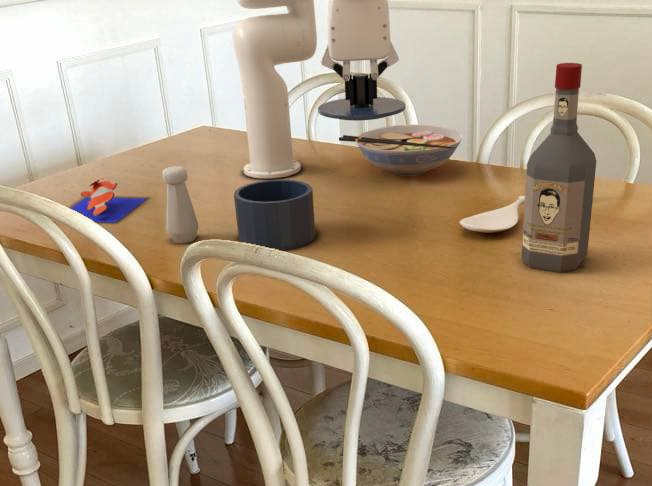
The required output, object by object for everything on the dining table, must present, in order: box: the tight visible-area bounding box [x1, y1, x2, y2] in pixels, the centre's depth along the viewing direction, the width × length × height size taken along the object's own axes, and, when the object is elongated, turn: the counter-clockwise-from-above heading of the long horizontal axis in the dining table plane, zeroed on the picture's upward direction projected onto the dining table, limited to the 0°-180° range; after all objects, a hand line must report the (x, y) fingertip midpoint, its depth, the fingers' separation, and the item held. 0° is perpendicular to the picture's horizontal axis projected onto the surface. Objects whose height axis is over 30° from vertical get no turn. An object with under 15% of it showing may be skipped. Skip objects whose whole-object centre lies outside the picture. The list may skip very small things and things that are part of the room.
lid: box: [317, 73, 406, 122], centre depth 147 cm, size 15×15×6 cm
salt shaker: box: [161, 165, 199, 244], centre depth 155 cm, size 6×6×13 cm
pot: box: [233, 179, 316, 251], centre depth 155 cm, size 14×14×8 cm
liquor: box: [521, 62, 597, 273], centre depth 134 cm, size 9×9×30 cm
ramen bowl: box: [338, 124, 464, 177], centre depth 187 cm, size 25×23×8 cm
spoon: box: [459, 195, 525, 234], centre depth 161 cm, size 9×32×4 cm, turn 135°
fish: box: [80, 177, 118, 217], centre depth 174 cm, size 13×5×9 cm
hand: (361, 102), depth 148 cm, fingers closed on lid, 2 cm apart
